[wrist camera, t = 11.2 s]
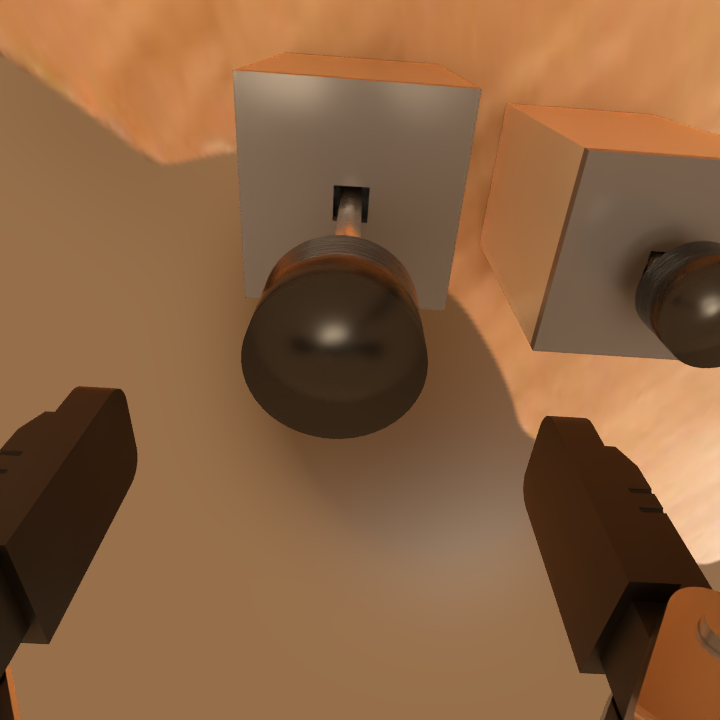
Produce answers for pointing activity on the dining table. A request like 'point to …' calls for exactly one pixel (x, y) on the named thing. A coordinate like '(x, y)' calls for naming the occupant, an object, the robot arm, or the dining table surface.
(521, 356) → the dining table surface
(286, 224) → the block
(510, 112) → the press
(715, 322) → the plunger
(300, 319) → the plunger
